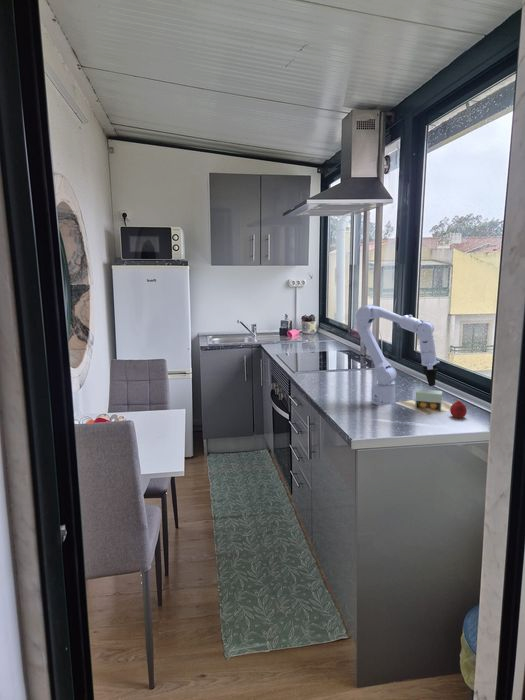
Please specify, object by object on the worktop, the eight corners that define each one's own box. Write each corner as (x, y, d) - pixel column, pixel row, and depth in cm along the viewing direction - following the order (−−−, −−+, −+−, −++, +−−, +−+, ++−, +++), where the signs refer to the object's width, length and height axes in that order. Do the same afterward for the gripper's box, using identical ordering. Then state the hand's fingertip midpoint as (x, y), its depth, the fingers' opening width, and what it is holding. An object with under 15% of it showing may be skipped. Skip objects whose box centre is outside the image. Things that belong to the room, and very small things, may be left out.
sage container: (415, 408, 187) (415, 392, 186) (416, 405, 192) (416, 389, 191) (441, 411, 183) (441, 394, 182) (441, 407, 188) (442, 391, 187)
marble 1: (422, 409, 187) (423, 402, 186) (417, 407, 189) (418, 400, 189) (428, 408, 188) (428, 401, 187) (423, 406, 191) (423, 399, 190)
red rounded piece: (461, 417, 179) (462, 397, 178) (468, 421, 173) (470, 401, 172) (447, 417, 179) (448, 397, 177) (453, 422, 173) (454, 401, 172)
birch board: (426, 417, 179) (426, 414, 179) (394, 404, 197) (394, 402, 197) (464, 410, 187) (464, 408, 187) (431, 399, 204) (431, 397, 204)
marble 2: (433, 410, 185) (433, 403, 185) (427, 408, 188) (428, 401, 187) (438, 409, 186) (439, 402, 186) (433, 407, 189) (433, 400, 188)
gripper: (439, 352, 178) (443, 386, 179) (437, 348, 192) (441, 379, 193) (420, 354, 180) (424, 388, 182) (419, 350, 194) (423, 381, 195)
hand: (431, 383), depth 187 cm, fingers open, 7 cm apart
